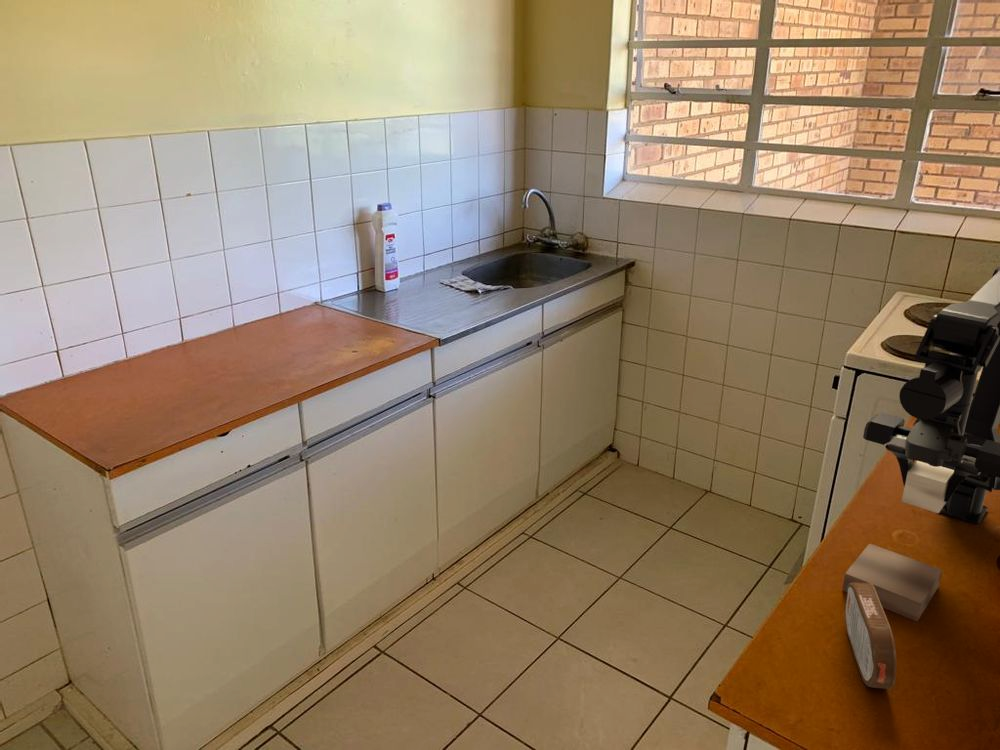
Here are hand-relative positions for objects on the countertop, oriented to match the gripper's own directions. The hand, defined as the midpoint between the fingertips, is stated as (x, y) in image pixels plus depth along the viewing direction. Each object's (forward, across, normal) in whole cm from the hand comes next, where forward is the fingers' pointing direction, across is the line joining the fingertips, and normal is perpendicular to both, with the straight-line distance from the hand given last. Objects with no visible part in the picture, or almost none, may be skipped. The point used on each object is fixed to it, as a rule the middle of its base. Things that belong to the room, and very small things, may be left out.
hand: (926, 494), depth 112 cm
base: (+11, 0, -10) cm, 15 cm away
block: (+1, 0, 0) cm, 1 cm away
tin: (+11, +2, -27) cm, 30 cm away
